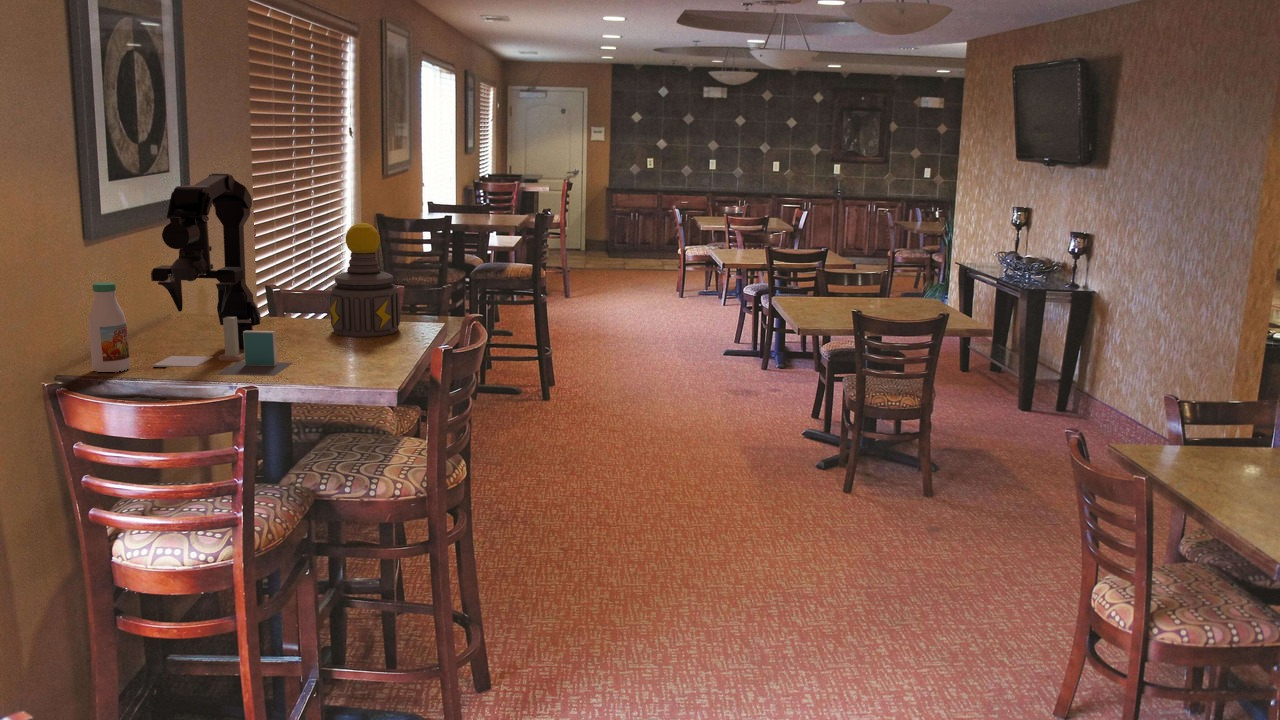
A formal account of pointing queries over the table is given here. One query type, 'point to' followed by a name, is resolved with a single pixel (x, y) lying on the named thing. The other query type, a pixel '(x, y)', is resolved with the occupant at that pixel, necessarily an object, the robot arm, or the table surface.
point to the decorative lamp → (364, 290)
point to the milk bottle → (108, 331)
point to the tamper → (231, 340)
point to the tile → (260, 348)
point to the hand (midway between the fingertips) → (200, 311)
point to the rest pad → (182, 361)
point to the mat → (254, 369)
